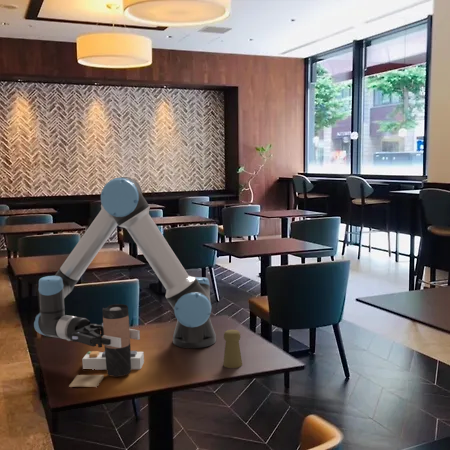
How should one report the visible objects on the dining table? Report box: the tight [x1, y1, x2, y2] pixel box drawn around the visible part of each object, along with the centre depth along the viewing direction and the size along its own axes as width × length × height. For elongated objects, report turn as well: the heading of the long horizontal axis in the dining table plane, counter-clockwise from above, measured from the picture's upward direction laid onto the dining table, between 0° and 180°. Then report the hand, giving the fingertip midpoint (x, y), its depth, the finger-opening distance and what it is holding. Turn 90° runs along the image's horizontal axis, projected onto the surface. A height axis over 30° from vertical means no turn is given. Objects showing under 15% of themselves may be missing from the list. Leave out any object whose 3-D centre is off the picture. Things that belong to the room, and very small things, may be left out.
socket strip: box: [81, 350, 145, 371], centre depth 179 cm, size 18×6×4 cm, turn 88°
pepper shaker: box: [222, 329, 243, 369], centre depth 177 cm, size 6×6×11 cm
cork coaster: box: [68, 374, 105, 388], centre depth 166 cm, size 8×8×1 cm
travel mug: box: [102, 303, 132, 377], centre depth 170 cm, size 8×8×20 cm
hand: (129, 338), depth 167 cm, fingers closed on travel mug, 7 cm apart
